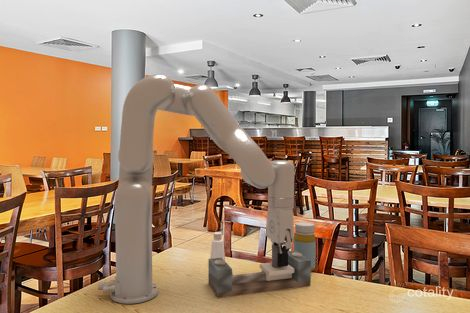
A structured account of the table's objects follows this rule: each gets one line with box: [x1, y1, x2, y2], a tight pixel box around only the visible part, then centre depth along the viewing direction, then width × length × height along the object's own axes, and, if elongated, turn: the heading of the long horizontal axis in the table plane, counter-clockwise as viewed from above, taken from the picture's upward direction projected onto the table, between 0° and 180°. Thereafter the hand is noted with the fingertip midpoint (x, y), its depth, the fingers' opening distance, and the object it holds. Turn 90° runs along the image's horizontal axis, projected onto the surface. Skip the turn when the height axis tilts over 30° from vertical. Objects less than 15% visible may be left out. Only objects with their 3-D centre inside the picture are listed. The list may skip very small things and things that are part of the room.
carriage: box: [259, 244, 294, 281], centre depth 112 cm, size 8×7×9 cm
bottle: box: [293, 221, 317, 273], centre depth 124 cm, size 7×7×15 cm
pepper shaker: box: [209, 231, 226, 262], centre depth 127 cm, size 5×5×11 cm
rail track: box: [208, 250, 312, 299], centre depth 110 cm, size 28×10×8 cm, turn 108°
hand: (279, 263), depth 112 cm, fingers closed on carriage, 3 cm apart
